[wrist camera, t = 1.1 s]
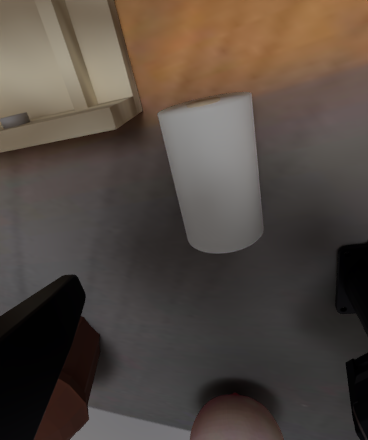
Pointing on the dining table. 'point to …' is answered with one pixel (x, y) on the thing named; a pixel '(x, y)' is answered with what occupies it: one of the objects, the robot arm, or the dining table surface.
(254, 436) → the decorative fruit
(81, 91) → the roll cradle
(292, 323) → the dining table surface
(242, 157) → the paper roll
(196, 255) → the dining table surface
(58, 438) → the muffin
